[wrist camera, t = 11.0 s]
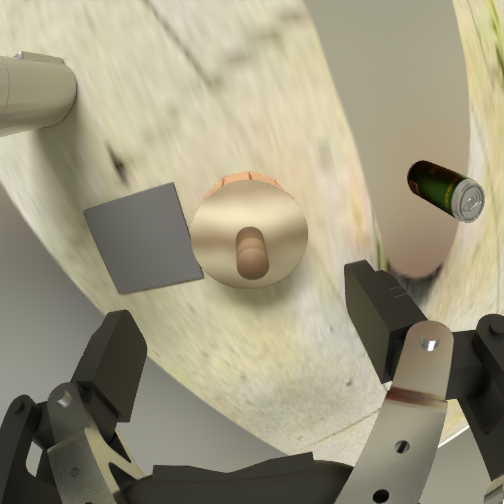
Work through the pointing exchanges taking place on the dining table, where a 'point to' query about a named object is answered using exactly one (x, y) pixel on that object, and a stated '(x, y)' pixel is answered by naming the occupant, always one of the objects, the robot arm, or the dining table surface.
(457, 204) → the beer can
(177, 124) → the dining table surface
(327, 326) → the dining table surface
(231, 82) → the dining table surface
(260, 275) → the lid
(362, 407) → the dining table surface
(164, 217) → the mat
